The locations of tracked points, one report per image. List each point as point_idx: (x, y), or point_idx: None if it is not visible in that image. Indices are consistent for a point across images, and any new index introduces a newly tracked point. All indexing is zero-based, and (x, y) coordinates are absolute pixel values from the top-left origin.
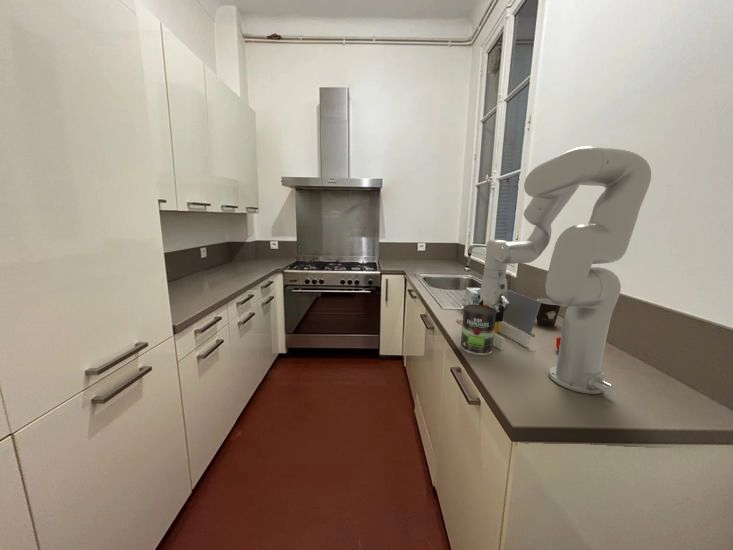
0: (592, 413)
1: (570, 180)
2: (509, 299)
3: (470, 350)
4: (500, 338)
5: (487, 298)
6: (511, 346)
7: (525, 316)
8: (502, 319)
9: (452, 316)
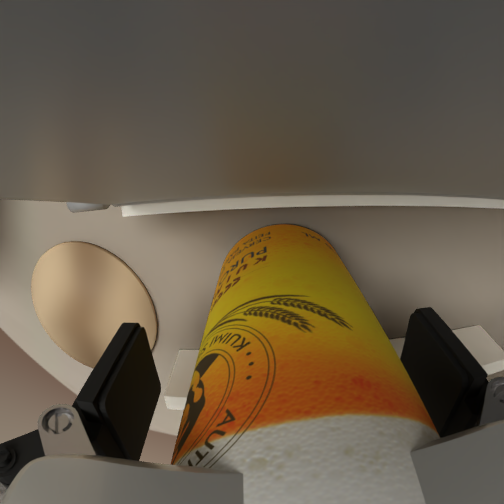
0: None
1: None
2: (466, 94)
3: None
4: (495, 370)
5: None
6: (477, 264)
7: None
8: (437, 317)
9: (14, 332)
